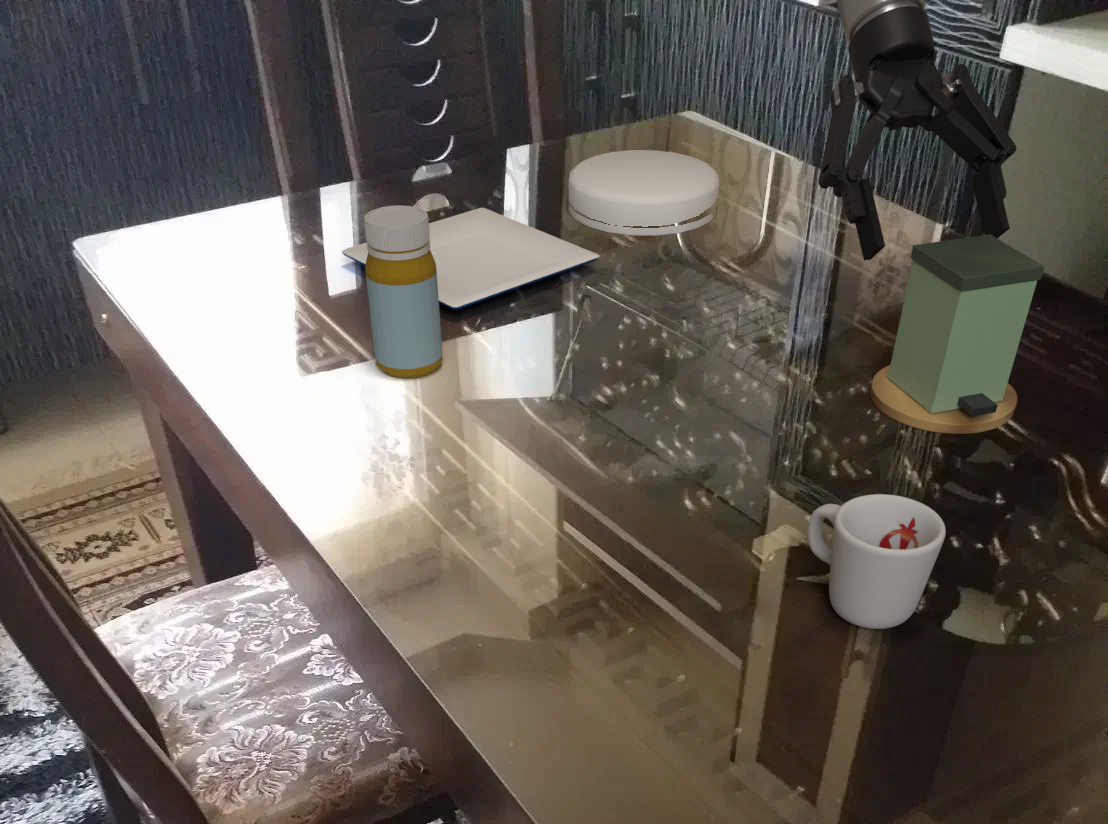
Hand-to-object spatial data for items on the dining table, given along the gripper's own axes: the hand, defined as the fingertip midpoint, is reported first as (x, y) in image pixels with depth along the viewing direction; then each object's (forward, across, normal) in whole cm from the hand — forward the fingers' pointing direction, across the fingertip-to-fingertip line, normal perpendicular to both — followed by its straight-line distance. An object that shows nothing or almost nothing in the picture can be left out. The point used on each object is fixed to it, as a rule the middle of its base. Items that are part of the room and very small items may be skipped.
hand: (937, 245), depth 110 cm
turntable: (+14, 0, -5) cm, 14 cm away
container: (-29, +8, -48) cm, 56 cm away
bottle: (-4, +48, -22) cm, 54 cm away
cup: (+33, +25, +14) cm, 44 cm away
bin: (+14, 0, -3) cm, 14 cm away
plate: (-20, +35, -39) cm, 56 cm away
